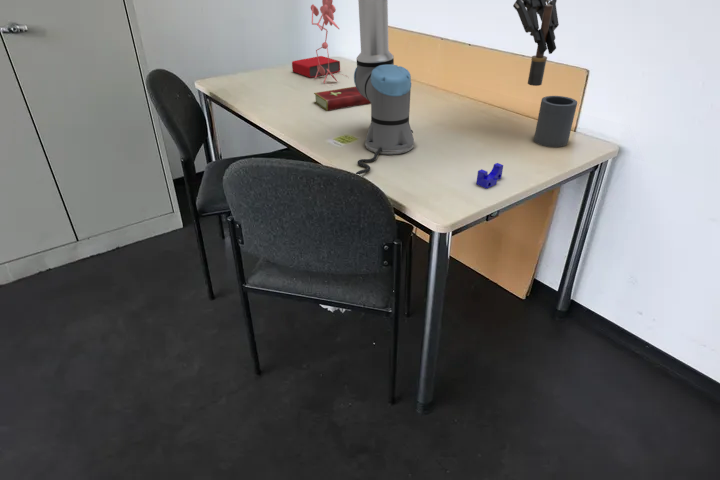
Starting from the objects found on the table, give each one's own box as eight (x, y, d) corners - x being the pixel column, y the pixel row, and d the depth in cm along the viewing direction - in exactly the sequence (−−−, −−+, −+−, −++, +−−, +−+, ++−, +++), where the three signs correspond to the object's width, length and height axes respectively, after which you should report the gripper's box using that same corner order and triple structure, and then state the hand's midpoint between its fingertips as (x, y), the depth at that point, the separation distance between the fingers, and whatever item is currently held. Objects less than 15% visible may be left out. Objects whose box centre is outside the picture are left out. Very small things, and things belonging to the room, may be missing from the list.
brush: (542, 86, 146) (557, 6, 134) (527, 85, 148) (540, 6, 136) (542, 82, 150) (556, 4, 138) (527, 81, 151) (540, 4, 139)
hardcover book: (375, 102, 189) (375, 92, 187) (327, 111, 181) (326, 100, 179) (361, 95, 198) (361, 84, 196) (314, 102, 190) (313, 92, 188)
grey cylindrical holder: (568, 148, 148) (578, 107, 141) (533, 145, 151) (541, 104, 144) (566, 137, 156) (576, 97, 149) (534, 134, 159) (541, 94, 152)
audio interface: (322, 66, 240) (322, 55, 237) (340, 71, 230) (339, 60, 228) (292, 72, 230) (291, 61, 228) (309, 78, 221) (308, 66, 218)
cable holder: (486, 189, 127) (488, 175, 124) (476, 184, 129) (478, 170, 127) (505, 180, 131) (507, 166, 128) (495, 176, 133) (497, 162, 131)
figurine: (330, 88, 207) (326, -2, 188) (306, 75, 226) (300, -9, 207) (361, 83, 213) (360, -5, 194) (335, 70, 232) (332, -11, 213)
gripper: (545, -11, 149) (564, 57, 145) (500, -9, 147) (518, 60, 142) (559, -29, 142) (579, 41, 138) (511, -28, 139) (530, 45, 135)
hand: (548, 51), depth 140 cm, fingers closed on brush, 2 cm apart
